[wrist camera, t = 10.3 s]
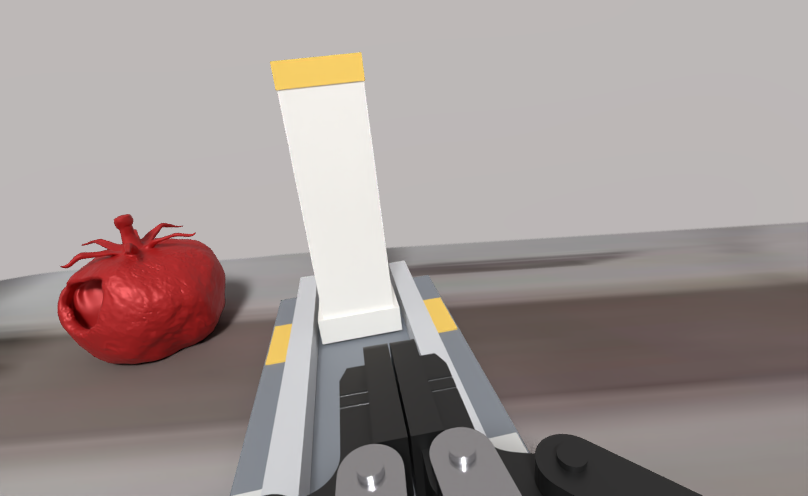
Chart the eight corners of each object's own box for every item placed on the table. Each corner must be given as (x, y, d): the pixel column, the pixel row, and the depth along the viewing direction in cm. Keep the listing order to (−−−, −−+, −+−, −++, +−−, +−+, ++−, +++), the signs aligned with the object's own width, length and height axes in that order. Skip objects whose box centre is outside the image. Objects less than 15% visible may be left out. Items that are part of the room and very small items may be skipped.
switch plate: (675, 759, 9) (693, 682, 8) (148, 938, 8) (89, 875, 7) (430, 292, 31) (426, 256, 30) (285, 318, 30) (276, 281, 29)
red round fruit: (228, 294, 36) (201, 190, 33) (245, 345, 27) (211, 211, 24) (93, 330, 32) (48, 215, 29) (64, 403, 23) (-5, 250, 20)
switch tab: (402, 329, 24) (366, 51, 18) (322, 344, 23) (263, 61, 18) (391, 296, 28) (360, 61, 23) (324, 308, 27) (276, 69, 22)
